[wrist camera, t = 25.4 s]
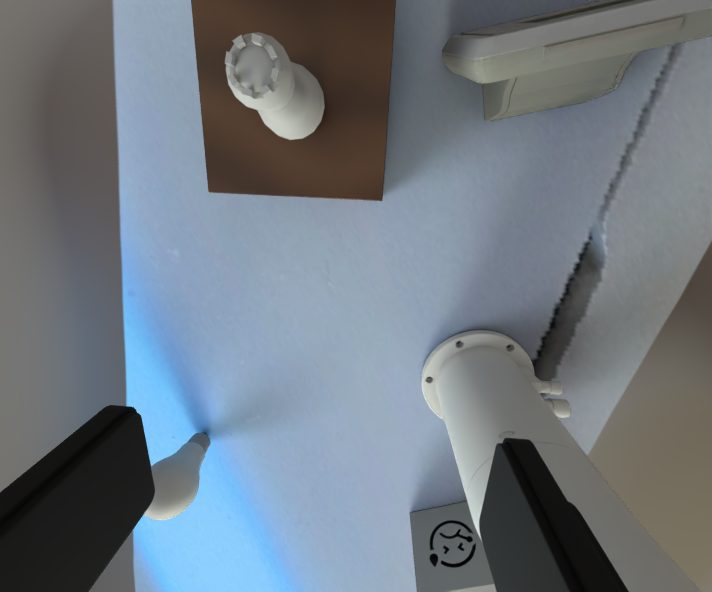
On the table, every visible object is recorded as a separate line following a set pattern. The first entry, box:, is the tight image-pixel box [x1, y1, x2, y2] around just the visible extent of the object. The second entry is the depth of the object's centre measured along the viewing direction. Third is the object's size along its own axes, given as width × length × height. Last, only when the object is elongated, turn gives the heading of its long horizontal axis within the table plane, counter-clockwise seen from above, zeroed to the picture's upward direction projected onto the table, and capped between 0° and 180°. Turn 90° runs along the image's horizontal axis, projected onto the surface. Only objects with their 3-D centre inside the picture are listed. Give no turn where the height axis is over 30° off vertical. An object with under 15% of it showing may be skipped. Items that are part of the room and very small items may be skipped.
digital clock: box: [442, 0, 712, 122], centre depth 24 cm, size 16×9×11 cm, turn 89°
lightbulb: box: [144, 433, 210, 520], centre depth 40 cm, size 6×6×11 cm
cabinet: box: [191, 0, 396, 201], centre depth 27 cm, size 14×13×10 cm
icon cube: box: [410, 501, 497, 592], centre depth 43 cm, size 10×10×10 cm
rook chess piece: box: [225, 32, 325, 140], centre depth 19 cm, size 4×4×8 cm
